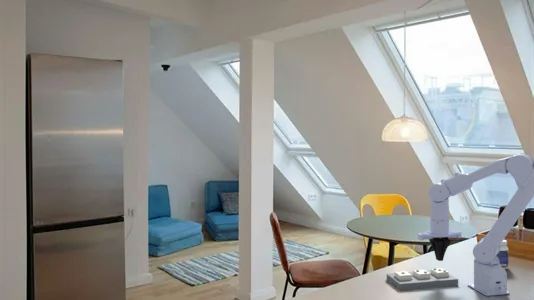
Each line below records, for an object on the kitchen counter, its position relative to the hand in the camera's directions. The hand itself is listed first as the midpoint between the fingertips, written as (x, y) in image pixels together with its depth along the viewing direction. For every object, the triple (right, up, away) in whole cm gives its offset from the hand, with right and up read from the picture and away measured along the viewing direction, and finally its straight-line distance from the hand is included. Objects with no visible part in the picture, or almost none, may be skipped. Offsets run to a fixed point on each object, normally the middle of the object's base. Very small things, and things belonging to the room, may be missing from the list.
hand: (439, 260), depth 148 cm
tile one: (-13, -6, -2) cm, 14 cm away
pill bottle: (+27, -6, +13) cm, 30 cm away
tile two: (-6, -6, -1) cm, 8 cm away
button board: (-6, -7, -1) cm, 9 cm away
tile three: (0, -5, 0) cm, 5 cm away
